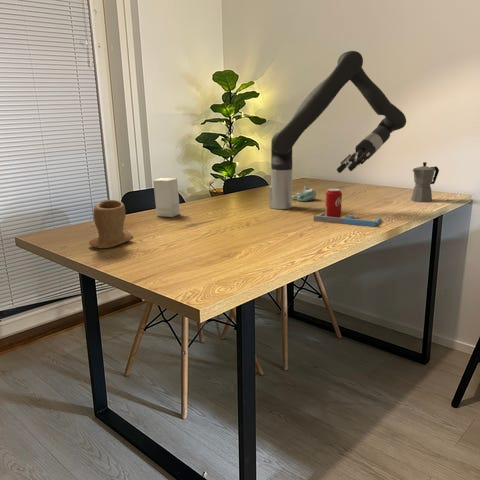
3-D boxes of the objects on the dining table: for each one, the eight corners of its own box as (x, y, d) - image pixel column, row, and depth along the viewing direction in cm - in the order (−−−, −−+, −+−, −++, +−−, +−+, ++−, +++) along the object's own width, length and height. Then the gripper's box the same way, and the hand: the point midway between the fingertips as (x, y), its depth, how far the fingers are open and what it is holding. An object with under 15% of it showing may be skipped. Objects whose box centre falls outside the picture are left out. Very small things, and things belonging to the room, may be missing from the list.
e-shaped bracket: (313, 220, 186) (313, 215, 185) (322, 215, 195) (322, 210, 195) (374, 226, 175) (375, 221, 175) (381, 220, 185) (381, 215, 184)
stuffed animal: (290, 187, 233) (314, 182, 230) (293, 201, 234) (317, 197, 232) (289, 190, 222) (314, 186, 220) (291, 205, 224) (317, 201, 222)
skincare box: (180, 214, 201) (178, 178, 196) (171, 217, 195) (169, 180, 191) (163, 213, 204) (161, 177, 200) (155, 216, 198) (152, 179, 194)
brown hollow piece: (108, 253, 148) (103, 206, 144) (84, 247, 155) (79, 202, 151) (143, 241, 160) (140, 198, 156) (119, 237, 167) (115, 195, 163)
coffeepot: (417, 203, 215) (421, 164, 210) (403, 200, 224) (406, 162, 219) (443, 200, 221) (447, 162, 216) (428, 197, 229) (431, 160, 225)
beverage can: (340, 221, 185) (342, 190, 182) (324, 220, 186) (325, 190, 183) (340, 217, 191) (342, 188, 187) (325, 217, 192) (326, 187, 189)
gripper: (354, 141, 203) (329, 165, 199) (374, 136, 189) (348, 161, 185) (364, 155, 204) (339, 178, 201) (384, 150, 191) (358, 176, 187)
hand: (343, 170), depth 193 cm, fingers open, 8 cm apart
